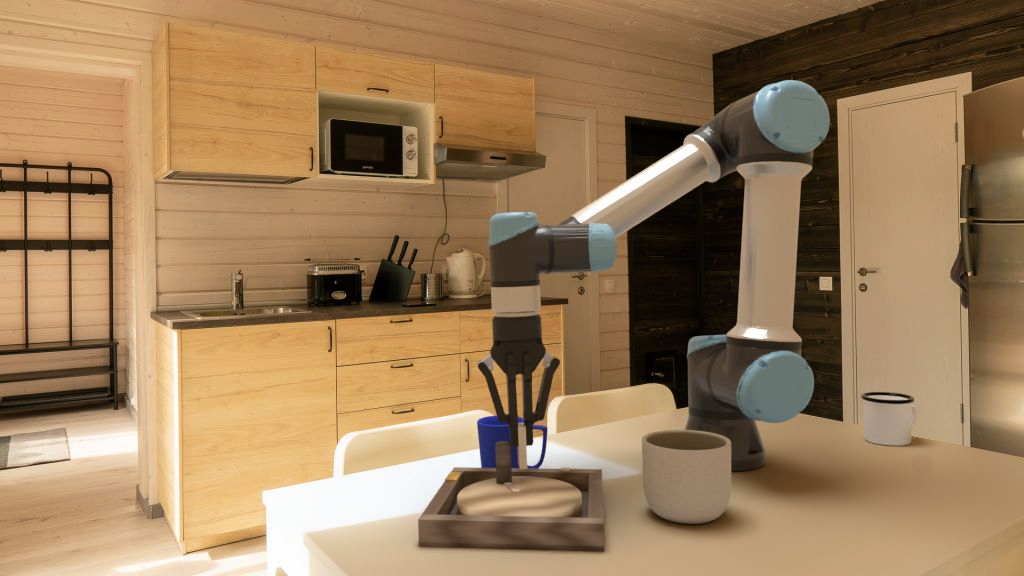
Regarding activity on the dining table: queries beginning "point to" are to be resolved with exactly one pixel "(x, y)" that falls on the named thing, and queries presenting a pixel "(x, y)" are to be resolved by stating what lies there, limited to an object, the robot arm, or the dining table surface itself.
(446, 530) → the brown wooden tray
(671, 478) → the planter
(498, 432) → the mug
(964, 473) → the dining table surface
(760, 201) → the robot arm
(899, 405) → the mug
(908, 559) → the dining table surface
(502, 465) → the dial
